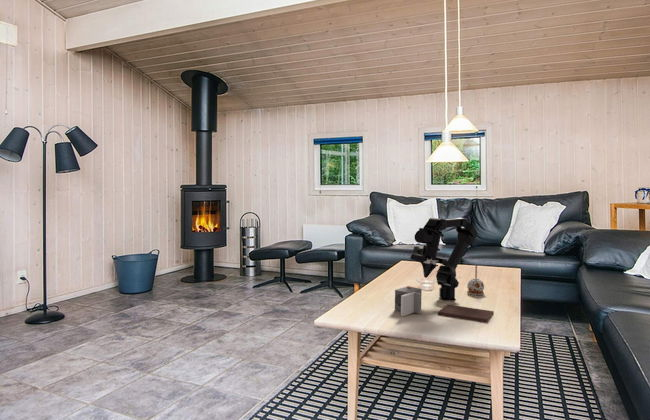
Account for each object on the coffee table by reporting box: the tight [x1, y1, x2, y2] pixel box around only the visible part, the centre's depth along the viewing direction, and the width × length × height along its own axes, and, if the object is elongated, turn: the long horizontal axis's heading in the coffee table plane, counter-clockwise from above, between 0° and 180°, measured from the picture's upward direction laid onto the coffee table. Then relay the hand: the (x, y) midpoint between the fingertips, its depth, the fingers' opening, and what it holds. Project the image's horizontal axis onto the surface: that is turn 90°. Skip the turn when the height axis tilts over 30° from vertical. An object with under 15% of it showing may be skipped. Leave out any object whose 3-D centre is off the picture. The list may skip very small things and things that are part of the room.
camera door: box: [400, 292, 422, 317], centre depth 180 cm, size 10×4×8 cm, turn 135°
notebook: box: [437, 303, 495, 323], centre depth 182 cm, size 15×20×2 cm
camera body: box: [394, 285, 423, 313], centre depth 187 cm, size 11×7×10 cm, turn 135°
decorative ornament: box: [467, 264, 485, 296], centre depth 217 cm, size 8×8×15 cm
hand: (425, 277), depth 200 cm, fingers closed
